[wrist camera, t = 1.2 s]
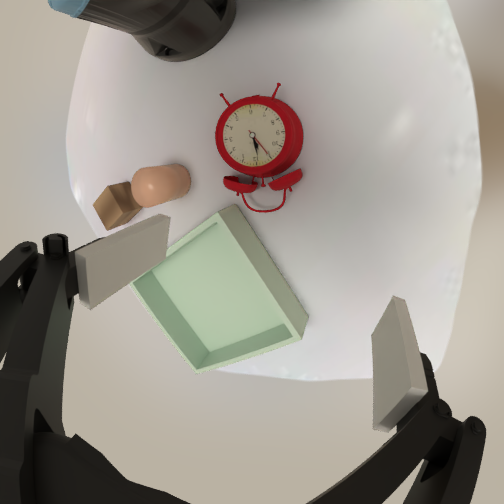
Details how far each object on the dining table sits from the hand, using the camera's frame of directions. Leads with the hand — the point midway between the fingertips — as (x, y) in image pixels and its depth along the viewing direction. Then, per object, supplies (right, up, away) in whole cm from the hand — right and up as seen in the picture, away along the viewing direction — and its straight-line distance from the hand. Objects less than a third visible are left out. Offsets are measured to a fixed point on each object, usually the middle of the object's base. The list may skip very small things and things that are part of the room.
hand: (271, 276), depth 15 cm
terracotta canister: (-12, +11, +24) cm, 29 cm away
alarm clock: (0, +14, +19) cm, 24 cm away
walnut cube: (-21, +9, +28) cm, 36 cm away
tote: (-6, -5, +27) cm, 28 cm away
